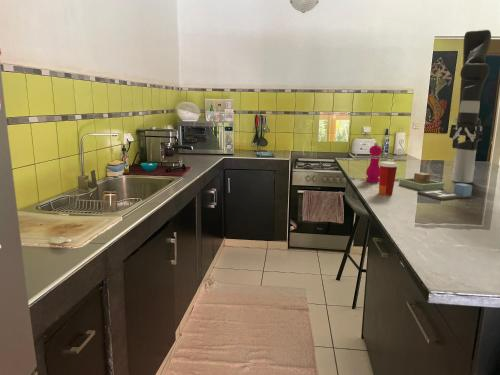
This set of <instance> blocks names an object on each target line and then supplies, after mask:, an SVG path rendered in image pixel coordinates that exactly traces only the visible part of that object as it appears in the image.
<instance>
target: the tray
mask: <svg viewBox="0 0 500 375" xmlns="http://www.w3.org/2000/svg"><path fill="white" fill-rule="evenodd" d="M444 184H445V182H441V181H437V180H432V179H430V182H429V184H419V183H415V182H414V177H412V178H411V177H410V178H409V177H408V178H399V183H398V186H401V187H405V188H408V189H413V190H417V191H427V190H444V187H445V185H444Z"/></svg>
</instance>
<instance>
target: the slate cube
mask: <svg viewBox="0 0 500 375" xmlns="http://www.w3.org/2000/svg"><path fill="white" fill-rule="evenodd" d="M453 186H454V187H453V192H452V193H454V194H458V195H462V196H463V198H466V197H472V190H473V185H472V184H469V183H461V182H458V183H454V184H453Z"/></svg>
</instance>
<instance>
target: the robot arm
mask: <svg viewBox="0 0 500 375" xmlns="http://www.w3.org/2000/svg"><path fill="white" fill-rule="evenodd" d="M491 40H492V32H491V30H489V29H476V30H468V31H466V32H465V34H464V36H463V48H462V49H463V51H462V52H463V53H462V54H463V55H462V56H463V57H462V67H461V70H460V74H459V75H460V79H461V80H460V88H459V93H460V94H459V106H458V112H457V118H456V124H451V125H450V130H449V135H448V137H449V138H450V139H452V145H451V146H452V148H453V149H455V155H454V156H455V157H454V164H453V171H452V177H451V181H453V182H456V183H464V184H470V183H473V180H474V174H475V167H476V164H475V162H476V154H477V148H478V143H479V141H483V134H484V126H482V120H481V118H479V114H480V106H481V105H480V104H481V96H482V92H483V87H484V85H485V83H486V81H487V78H488V76H489V75H490V70H491V68H490V66H489V64H488V63H486V59H487V58H486V57H487V54H488V52H489V49H490V46H491ZM462 136H463V137H468V138H469V139H468V140H465V141H462V142H459V141H460V140H459V139H460V138H461V137H462Z"/></svg>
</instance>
